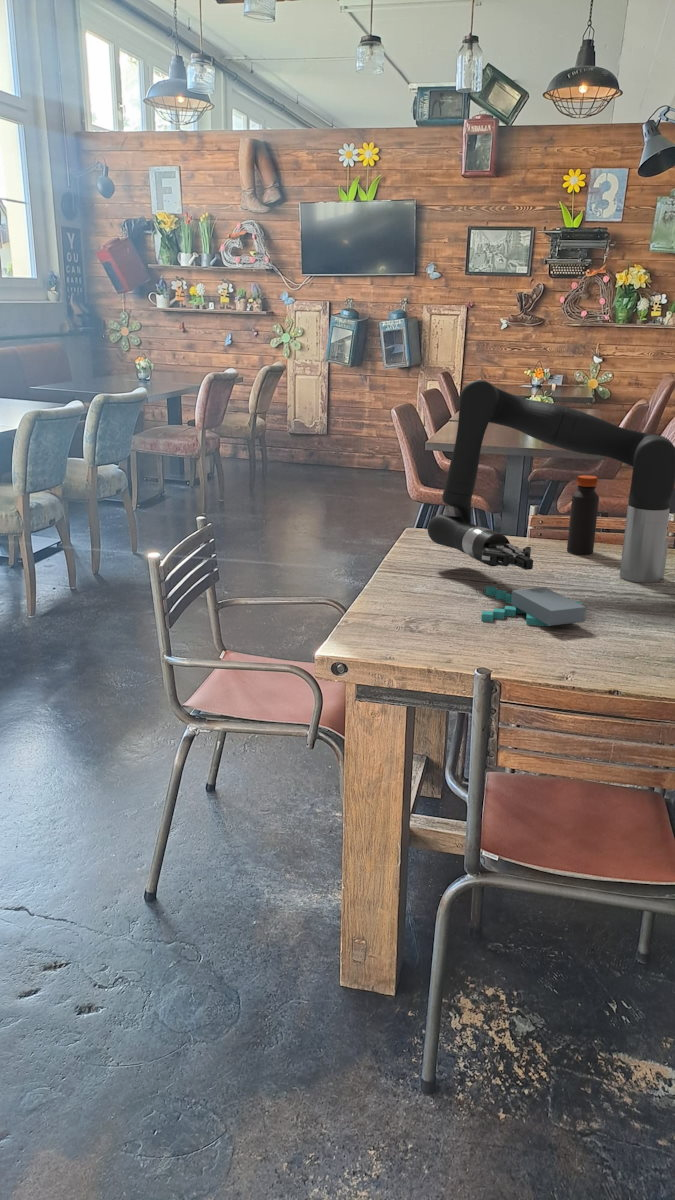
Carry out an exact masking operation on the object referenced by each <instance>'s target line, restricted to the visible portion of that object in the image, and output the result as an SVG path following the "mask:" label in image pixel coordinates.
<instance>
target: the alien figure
mask: <svg viewBox="0 0 675 1200" xmlns="http://www.w3.org/2000/svg"><path fill="white" fill-rule="evenodd" d="M485 596H492V597H495V598H494V599H496V600H505V603H506V604H511V599H512V593H507V590H505V589H497V586H491V585H486V586H485ZM567 598H568V599H570V597H567ZM570 600H571V599H570ZM573 601H574V600H573ZM574 602H576V603H578V604H580V605H582V602H581V601H576V600H575V601H574ZM516 614H519V615H520V614H521V615H522V614H523V615H526V616H525V617H526V619H525V622H526V623H525V624H526V625H529V626H541V627H542V626H543V627H550V626H549V625H547V624H546V623H544V622H542V621H540V620H538V619H537V618H535V617H533V616H531V615H529V614H528V613H526V612H524V611H522V610H520V609H519V608H517V607H515V606H513V605H512V606H511V605H505V606H504V608H493V611H492V610H491V611H490V610H482V611H481V619H480V620H481V621H482V622H491V623H492V622H493V621H494V619H496V620H497V619H499V620H500V619H501V620H504V619H505V617H516Z"/></svg>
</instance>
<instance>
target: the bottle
mask: <svg viewBox="0 0 675 1200" xmlns="http://www.w3.org/2000/svg"><path fill="white" fill-rule="evenodd" d="M597 486H598V477H597V476H595V475H587V474H586V475H577V481H576V487H577V490H576V491H575V492H574V493H573V494H572V495H571V506H570V512H569V522H568V523H569V525H568V535H567V545H566V551H567V553H570V554H572V555H576V556H577V555H578V556H580V555H581V556H586V555H587V556H588V555H591V554H593V553H594V549H595V548H594V547H595V540H596V530H597V529H596V528H597V523H598V522H597V521H598V512H599V510H598V509H599V503H600V497H599V494H597V492H596V488H597Z"/></svg>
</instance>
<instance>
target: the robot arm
mask: <svg viewBox="0 0 675 1200" xmlns="http://www.w3.org/2000/svg"><path fill="white" fill-rule="evenodd" d="M458 398H459V399H458V403H459V406H458V407H459V408H458V409H459V410H458V423H457V430H456V431H457V432H456V437H455V443H454V448H453V452H452V455H451V460H450V463H449V467H448V471H447V475H446V479H445V483H444V489H443V491H442V498H441V499H442V502H443V503H444V504H445V505H447V506H449V507H452V508H453V511H454V515H448V514H447V515H446V514H437V515H435V516H433V517H432V518H431V519H430V520H429V521H428V524H427V535H428V537H429V539H430V540H431V541H432V542H434V543H435V544H437V545H440V546H443V547H446V548H447V547H448V548H451V549H455V550H458V551H459V552H461V553H463V554H464V555H467V556H469V557H470V558H472V559H473V560H476V561H477V562H480V563H481V564H484V565H485V566H486V565H487V566H488V567H489V566H490V567H498V566H501V567H509V566H512V567H514V568H515V567H518V568H520V569H522V570H525V571H528V570H532V569H533V567H534V560H533V558H531V554H532V547H531V546H525V547H523V548H522V549H519V548H520V547H518V546H515V545H514V544H512V543H510V540H509V539H508V538H507V536H505V535H504V534H502V533H499V532H497V531H495V530H492V529H489V528H487V527H481V526H479V525H476V524H473V523H472V499H473V495H474V490H475V486H476V481H477V476H478V470H479V465H480V464H479V463H480V456H481V455H480V454H481V449H482V445H483V441H484V438H485V437H484V436H485V433H486V431H487V428H488V425H489V423H490V424H495V425H499V426H504V427H508V428H511V429H514V430H516V431H519V432H520V433H522V434H525V435H527V436H529V437H531V438H533V439H536V440H537V441H540V442H543V443H545V444H547V445H550V446H553V447H557V448H560V449H563V450H567V451H570V452H575V453H580V454H585V455H586V454H587V455H593V456H602V457H605V458H606V457H607V458H610V459H614V460H616V461H619V462H620V463H621V462H622V463H623V464H626V465H628V466H631V467H632V474H631V482H630V489H629V494H628V500H627V501H628V502H627V511H626V517H625V518H626V520H625V527H624V535H623V542H622V544H623V545H622V552H621V559H620V561H621V562H620V570H619V577H620V578H622V579H623V580H626V581H631V582H635V583H657V582H659V581H661V580H662V579H664V578H665V572H666V563H667V557H668V550H669V541H670V540H669V539H668V538H667V532H668V523H669V518H670V517H669V516H670V507H671V502H672V498H673V495H674V490H675V489H674V487H675V445H674V444H673V442H672V441H670V439H669V438H667V437H666V436H663V435H659V434H653V433H647V432H642V431H637V430H631V429H627V428H625V427H622V426H618V425H615V424H613V423H611V422H609V421H607V420H605V419H603V418H599V417H596V416H594V415H591V414H588V413H587V412H583V411H580V410H577V409H574V408H570V407H568V406H565V405H561V404H557V403H552V402H546V401H539V400H533V399H529V398H524V397H520V396H517V395H515V394H512V393H511V392H507V391H504V390H502V389H501V388H499V387H497V386H494V385H493V384H492V383H491V382H489V381H487V380H483V379H476V380H473V381H470V382H468V383H467V384H466V385H464V387H463V388H462V390H461V392H460V394H459V397H458Z"/></svg>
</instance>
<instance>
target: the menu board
mask: <svg viewBox="0 0 675 1200" xmlns="http://www.w3.org/2000/svg"><path fill="white" fill-rule="evenodd" d="M511 594H512V599H511V603H510V606H511V605H512V606H514V607H517V608H519V609H520V610H522V611H524V612H526V613H528V614H529V615H531V616H533V617H535V618H537V619H538V620H540V621H542V622H544V623H546V624H547V625H549V626H548V627H552V626H559V625H567V624H575V623H583V622H585V619H586V618H585V616H586V609H587V608H586V606H584V605H582V604H581V605H580V604H578V603H576V602H574V600H572V599H568V598H569V597H566V596H564V595H562V594H560V593H558V592H557V591H554V590H552V589H549V588H548V587H545V586H543V587H534V588H525V589H523V588H522V589H515V590H512V591H511Z"/></svg>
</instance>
